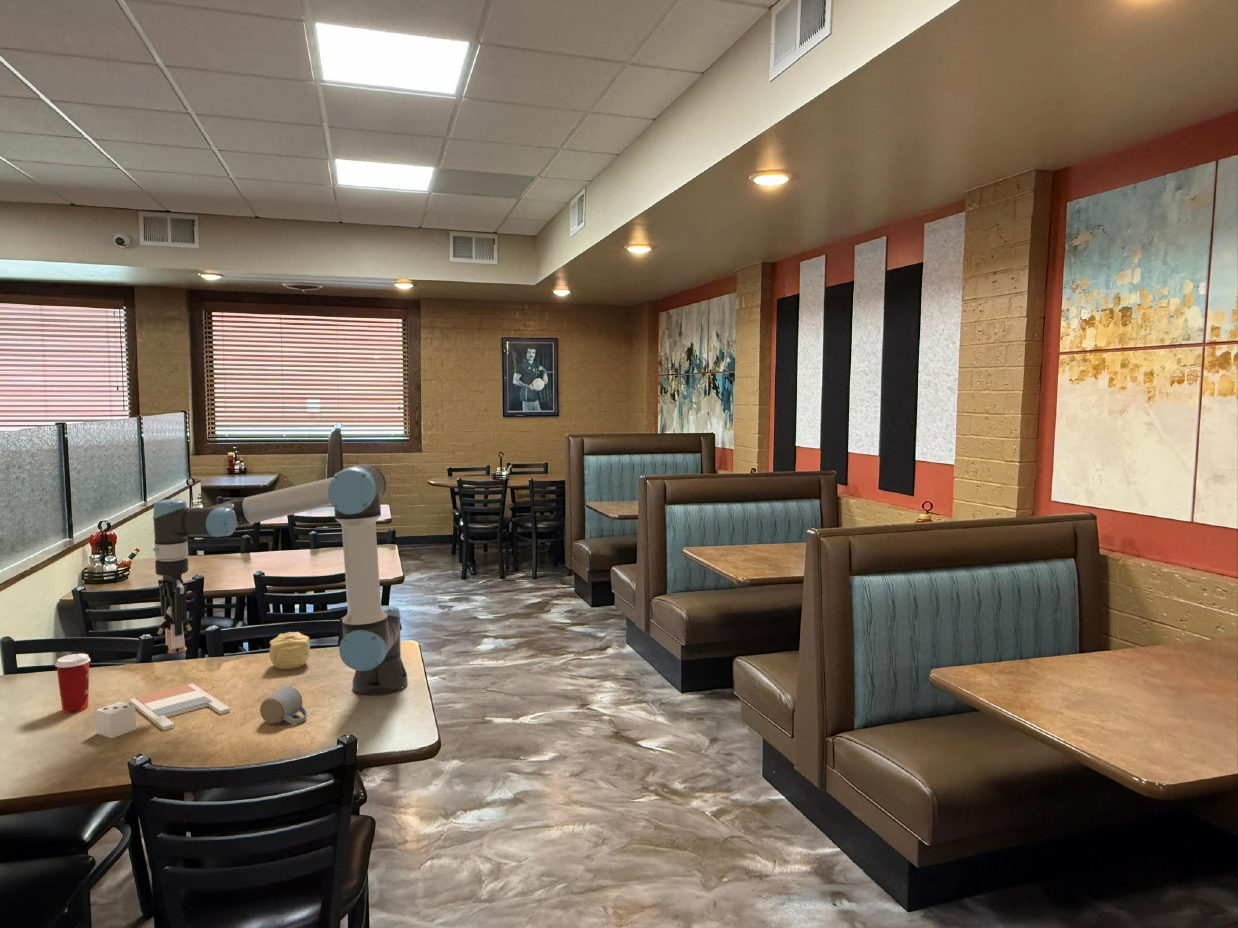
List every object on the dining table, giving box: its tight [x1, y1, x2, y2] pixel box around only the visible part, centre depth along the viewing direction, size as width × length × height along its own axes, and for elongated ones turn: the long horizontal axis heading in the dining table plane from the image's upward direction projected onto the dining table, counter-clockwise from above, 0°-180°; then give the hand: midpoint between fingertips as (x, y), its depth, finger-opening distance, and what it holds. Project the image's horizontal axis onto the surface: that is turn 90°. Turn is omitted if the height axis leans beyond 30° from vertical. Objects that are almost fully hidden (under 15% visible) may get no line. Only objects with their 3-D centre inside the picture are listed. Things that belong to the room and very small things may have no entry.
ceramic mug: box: [259, 685, 308, 725], centre depth 201 cm, size 11×8×8 cm
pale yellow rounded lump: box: [269, 631, 311, 670], centre depth 241 cm, size 12×12×11 cm
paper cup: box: [54, 653, 91, 714], centre depth 207 cm, size 8×8×14 cm
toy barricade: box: [129, 683, 231, 731], centre depth 209 cm, size 26×16×1 cm, turn 48°
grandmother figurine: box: [157, 606, 192, 654], centre depth 207 cm, size 8×4×13 cm, turn 137°
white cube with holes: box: [95, 701, 137, 739], centre depth 194 cm, size 6×6×6 cm
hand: (174, 645), depth 208 cm, fingers closed on grandmother figurine, 3 cm apart
